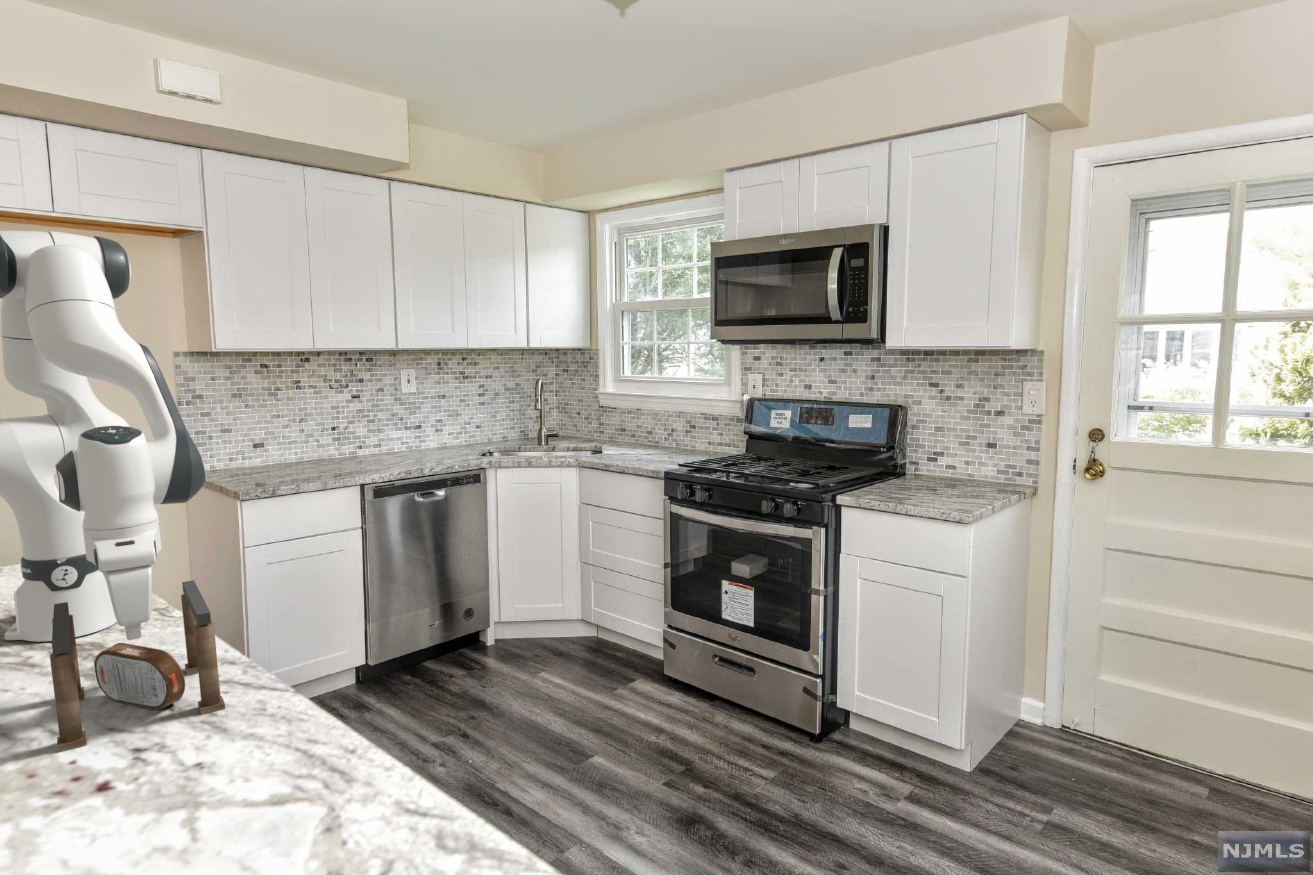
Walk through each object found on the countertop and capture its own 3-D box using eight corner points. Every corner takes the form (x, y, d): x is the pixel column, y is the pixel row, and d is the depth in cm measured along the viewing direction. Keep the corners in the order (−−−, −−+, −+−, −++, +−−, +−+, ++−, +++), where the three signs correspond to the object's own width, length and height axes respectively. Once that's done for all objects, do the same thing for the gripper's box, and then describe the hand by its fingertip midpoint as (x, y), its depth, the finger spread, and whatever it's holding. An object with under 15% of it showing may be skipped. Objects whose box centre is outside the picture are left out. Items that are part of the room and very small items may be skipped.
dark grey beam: (183, 591, 123) (182, 582, 123) (194, 589, 124) (193, 580, 123) (198, 625, 108) (197, 614, 108) (211, 623, 109) (210, 612, 109)
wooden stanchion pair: (59, 697, 115) (49, 616, 113) (206, 663, 126) (199, 590, 125) (57, 752, 100) (46, 660, 98) (225, 708, 111) (217, 625, 109)
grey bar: (55, 614, 113) (54, 604, 113) (69, 612, 114) (67, 601, 114) (53, 655, 99) (51, 643, 99) (68, 652, 100) (67, 640, 100)
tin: (189, 706, 112) (184, 650, 111) (169, 716, 109) (163, 659, 108) (114, 691, 117) (108, 637, 116) (93, 700, 114) (86, 645, 113)
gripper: (94, 531, 116) (104, 620, 118) (98, 563, 100) (109, 665, 102) (144, 524, 120) (153, 610, 122) (156, 554, 104) (166, 653, 106)
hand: (133, 636), depth 112 cm, fingers closed
